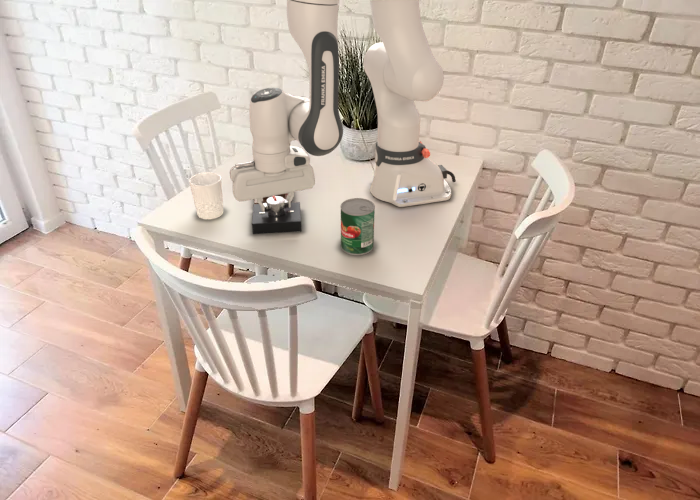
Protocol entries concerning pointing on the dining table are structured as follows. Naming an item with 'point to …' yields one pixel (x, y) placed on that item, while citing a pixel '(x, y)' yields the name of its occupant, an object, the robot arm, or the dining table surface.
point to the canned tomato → (357, 226)
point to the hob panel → (276, 220)
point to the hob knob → (276, 206)
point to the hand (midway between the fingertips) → (276, 209)
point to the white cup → (207, 194)
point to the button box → (271, 196)
